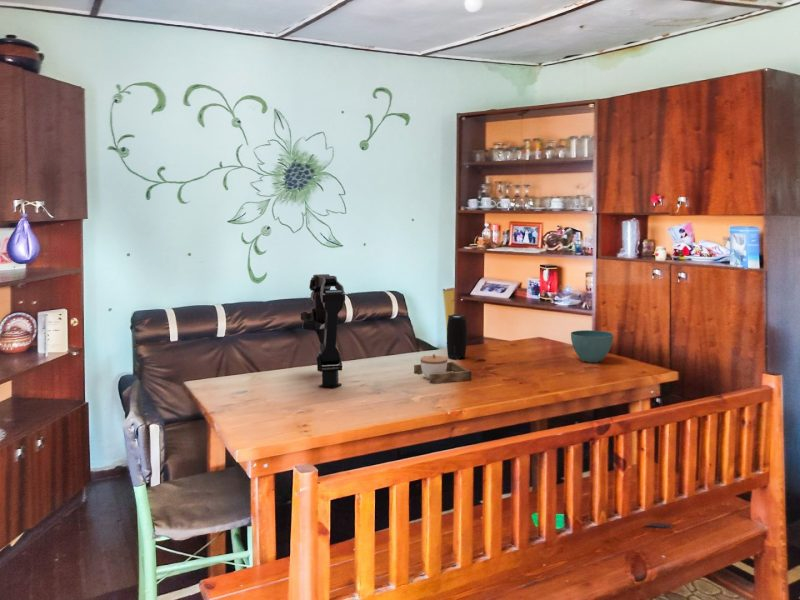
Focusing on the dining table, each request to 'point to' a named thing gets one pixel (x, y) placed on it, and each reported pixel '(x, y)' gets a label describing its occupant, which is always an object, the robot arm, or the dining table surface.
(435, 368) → the lidded jar
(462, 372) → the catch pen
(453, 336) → the portable speaker
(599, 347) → the teal round bowl
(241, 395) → the dining table surface
